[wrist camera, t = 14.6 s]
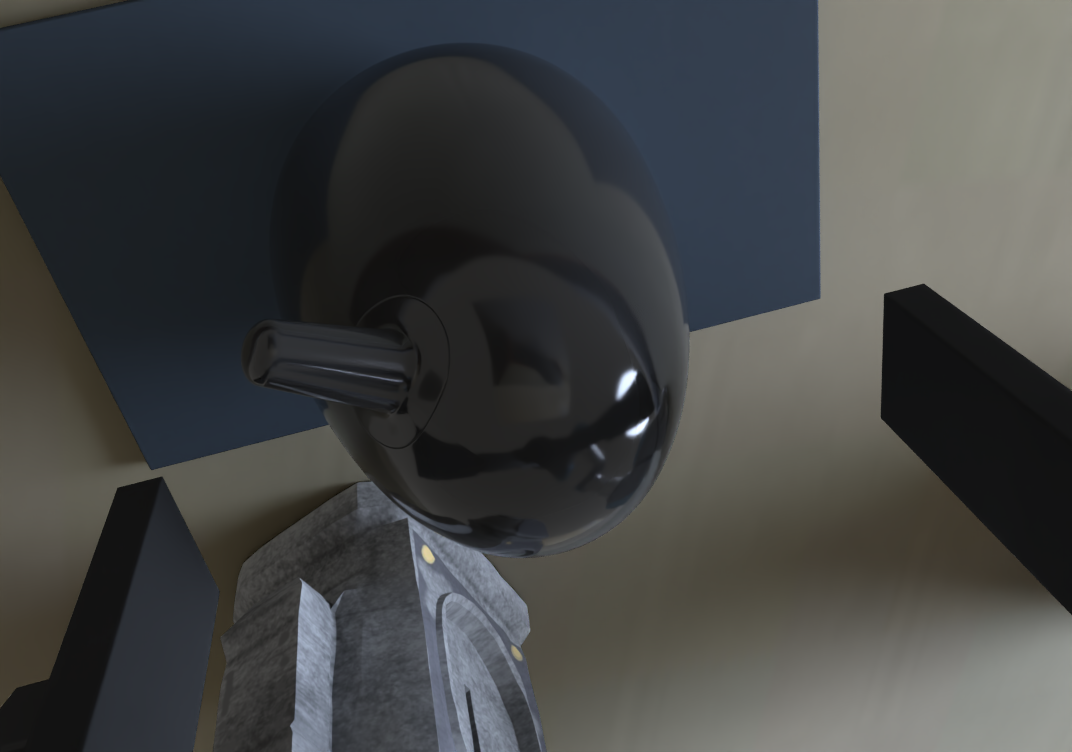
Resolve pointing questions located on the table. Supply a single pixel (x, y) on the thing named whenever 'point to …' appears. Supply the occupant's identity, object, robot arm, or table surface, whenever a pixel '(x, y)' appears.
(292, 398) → the desk mat
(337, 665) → the figurine
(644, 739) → the table surface
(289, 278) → the black rounded piece
